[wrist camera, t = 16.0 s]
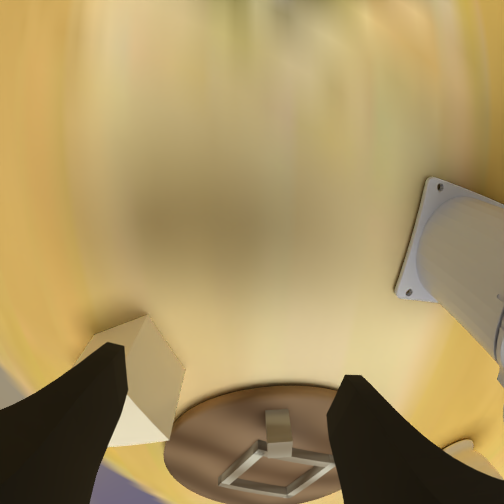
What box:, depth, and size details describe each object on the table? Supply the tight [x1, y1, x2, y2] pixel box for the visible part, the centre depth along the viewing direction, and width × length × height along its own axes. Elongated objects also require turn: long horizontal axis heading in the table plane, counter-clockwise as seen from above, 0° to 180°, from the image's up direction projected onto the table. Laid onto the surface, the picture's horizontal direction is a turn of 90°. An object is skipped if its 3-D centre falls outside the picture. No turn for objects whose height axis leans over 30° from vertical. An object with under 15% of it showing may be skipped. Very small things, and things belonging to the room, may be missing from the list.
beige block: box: [71, 314, 185, 447], centre depth 17 cm, size 8×5×6 cm, turn 113°
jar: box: [443, 439, 503, 480], centre depth 21 cm, size 11×10×15 cm
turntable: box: [164, 385, 341, 504], centre depth 22 cm, size 20×20×4 cm
